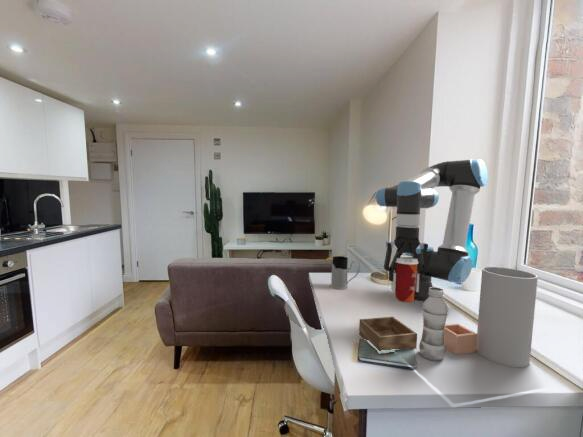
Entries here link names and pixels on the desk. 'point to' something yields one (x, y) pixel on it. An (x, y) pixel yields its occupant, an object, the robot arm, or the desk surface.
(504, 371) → the desk surface
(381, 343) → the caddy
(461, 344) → the planter
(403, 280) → the coffee cup
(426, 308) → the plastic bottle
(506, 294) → the cylinder vase
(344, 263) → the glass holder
